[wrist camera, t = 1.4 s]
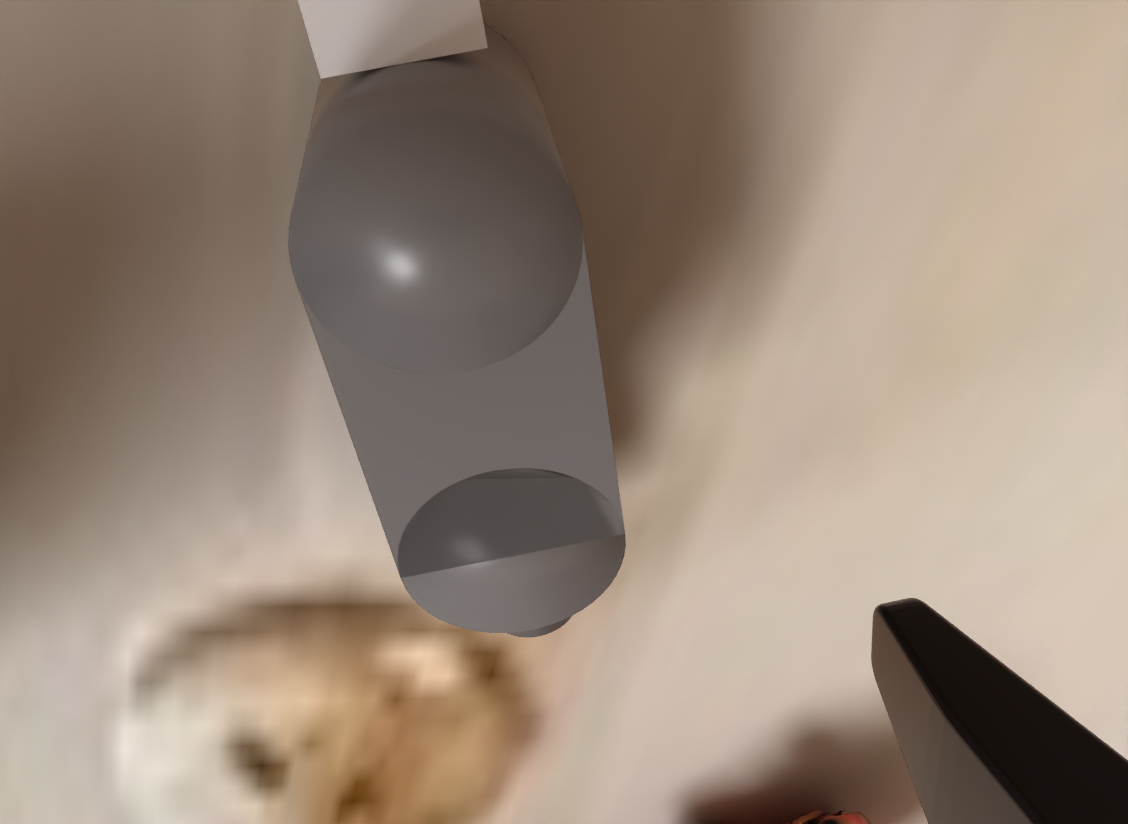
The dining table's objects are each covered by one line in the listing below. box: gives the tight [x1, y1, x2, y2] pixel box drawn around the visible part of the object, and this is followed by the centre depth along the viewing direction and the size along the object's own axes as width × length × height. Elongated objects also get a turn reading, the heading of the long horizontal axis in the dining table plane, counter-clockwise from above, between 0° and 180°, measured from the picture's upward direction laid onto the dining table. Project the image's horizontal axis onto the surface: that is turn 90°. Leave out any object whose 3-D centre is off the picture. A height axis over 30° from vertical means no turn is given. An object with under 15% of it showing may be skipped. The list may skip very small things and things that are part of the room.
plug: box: [289, 0, 626, 637], centre depth 17 cm, size 14×4×5 cm, turn 8°
